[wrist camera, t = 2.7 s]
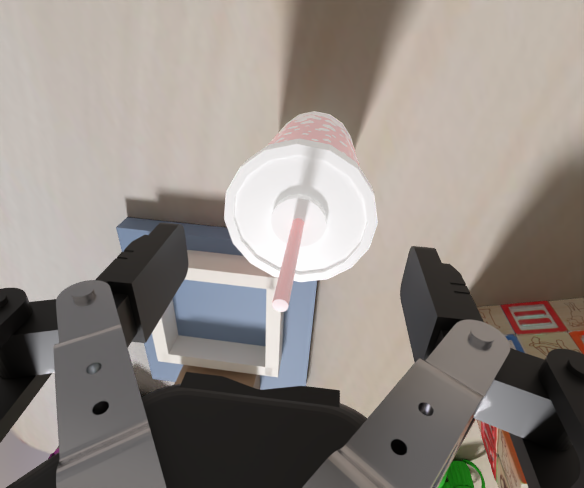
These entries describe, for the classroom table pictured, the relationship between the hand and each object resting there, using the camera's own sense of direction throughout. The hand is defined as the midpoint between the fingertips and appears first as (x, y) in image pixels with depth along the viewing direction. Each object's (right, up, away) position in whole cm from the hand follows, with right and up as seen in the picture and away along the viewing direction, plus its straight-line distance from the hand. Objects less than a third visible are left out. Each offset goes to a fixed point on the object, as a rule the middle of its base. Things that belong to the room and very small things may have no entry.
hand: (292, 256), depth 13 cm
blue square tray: (-5, -5, +17) cm, 18 cm away
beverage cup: (+1, +6, +9) cm, 11 cm away
